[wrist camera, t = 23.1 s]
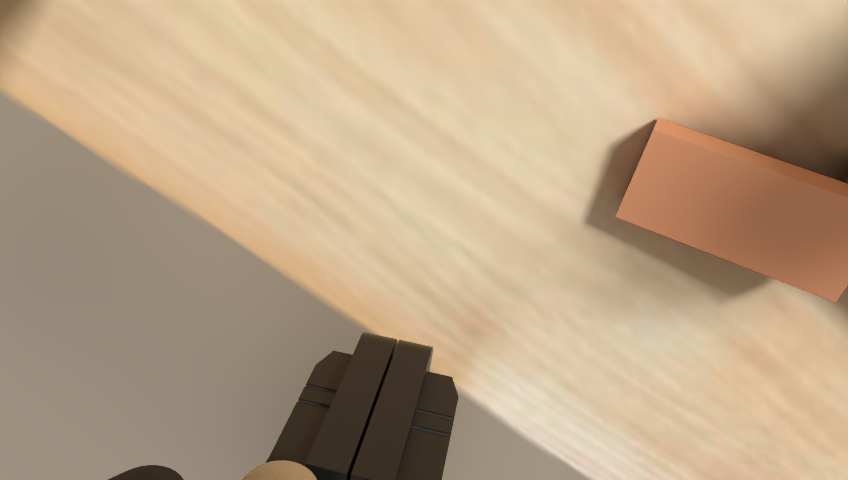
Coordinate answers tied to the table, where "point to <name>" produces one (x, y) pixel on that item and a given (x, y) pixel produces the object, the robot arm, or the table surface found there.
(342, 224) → the table surface
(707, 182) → the domino
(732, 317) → the table surface
